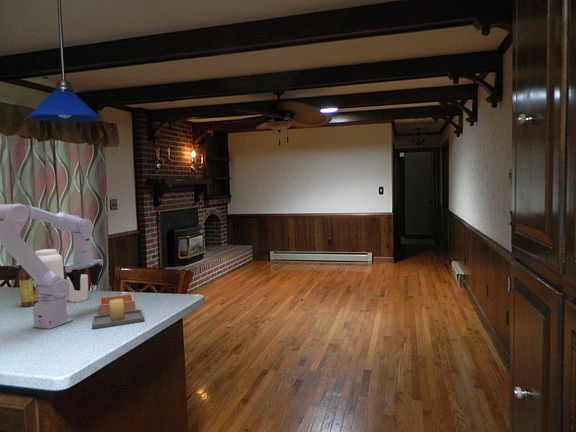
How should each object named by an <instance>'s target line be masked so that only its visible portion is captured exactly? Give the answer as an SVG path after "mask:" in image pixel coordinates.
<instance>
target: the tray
mask: <svg viewBox="0 0 576 432" xmlns="http://www.w3.org/2000/svg"><path fill="white" fill-rule="evenodd" d="M124 314H125V319H123V320H120V321H111V314H104V315H99V314H97V315H93V316H92V322H91V323H92V324H91V326H92V328H91V329H92V330H98V329H103V328H104V329H105V328H110V327H118V326H123V325H130V324H135V323H136V324H137V323H142V322H145V315H144V313H143V310H142V309H135V310H133V311H126V312H124Z"/></svg>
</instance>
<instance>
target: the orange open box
mask: <svg viewBox="0 0 576 432" xmlns="http://www.w3.org/2000/svg"><path fill="white" fill-rule="evenodd" d="M113 299H123V303H124V312H126V311H133V310H136V301H135V297H134V294H133V293H128V294H120V295H111V296H105V297H99V299H98V310H99V311H98V312H99V314H98V315H104V314H110V304H109V301H110V300H113Z"/></svg>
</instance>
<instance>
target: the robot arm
mask: <svg viewBox="0 0 576 432" xmlns="http://www.w3.org/2000/svg"><path fill="white" fill-rule="evenodd" d="M29 220H37V221H41V222H46V223H50V224H52V226H53V227H54V228H55V229H59V230H63V231H66V232H69V233H71V234H72V236H73V237H72V238H73V249H74V251H73V252H74V261H75V263H73V264H70V265H66V266H65V267H64V271H65V275H66V277H69V279H70V280H71V282H72V284H73V287H74V290H77V291H79V290H80V278H81V274H82V271H79V270H83V269H87V270H88V273H89V275H90V283H91V286H98V282H99V277H100V274H101V272H102V271H103V260H102V259H101V258H99V259H97V258H96V259H93V248H92V247H93V246H92V245H93V244H92V236H93V235H92V233H93V231H94V228H95V226H94V224H93V222H92V221H91V220H90V219H89V218H81V217H80V216H79V215H72V214H70V213H69V212H68V211H65V210H63V211H59V212H57V213H54V212H50V211H47V210H44V209H42V208H39V207H36V206H32V205H29V204H28V205H27V204H23V203H10V204H9V203H8V204H7V203H0V245H1V246H2V247H3V248H4V249H5V250H6V251H7V252H8V254H10V255H11V257H12V258H14V260H15V261H16V262H17V263H18V264H19V265H20V266H21V268H22V267H23V268H24V269H25V270H26V271H27V272H28V274H29V275H30V276H31V277H32V278H33V279H34V280H33V282H32V283H33V284H34V285H35V287H36V291H37V293H38V294H40V296H41V298H40V300H39V302H37V303H36V304H35V305H33V308H32V311H33V325H32V327H33V328H40V329H49V330H50V329H53V328H55V327H59V326H60V325H64V324H66V323H69V322H72V321H74V318H70V317H68V312H67V310H68V309H67V298H66V297H67V295H68V294H69V289H70V285H69V282H68V281H67V278H66V279H65V278H64V279H63V278H61V277H60V276H59V275H58V274H56V273H54V272H52V271H50V270H49V269H48V267H47V266H46V265H45V264H44V263H43V262H42V261H41V260H40V258H39V257H38V256H37V255H36V254H35V252H34V251H33V249H32V248H31V247H30V246H29V245H28V244H27V242H25V240H24V239H23V238H22V237H21V235H20V234H21V232H22V231H23V228H24V226H25V224H26V223H27V222H28V221H29Z"/></svg>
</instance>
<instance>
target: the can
mask: <svg viewBox="0 0 576 432" xmlns="http://www.w3.org/2000/svg"><path fill="white" fill-rule="evenodd" d="M34 253H35V254H36V255H37V256H38V257H39V258H40V260H41V261H42V262H43V263H44V264H45V265H46V266H47V267H48V269H49V270H50V271H52V272H54V273H56V274H58V275H59V276H60V277H61V278H63V279H65V274H64V271H65V270H64V260H63V256H62V255H61V254H60V253H58V250H57V248H48V249H47V248H44V249H40V250H35V252H34ZM39 299H41V296H40V294H39Z"/></svg>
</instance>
